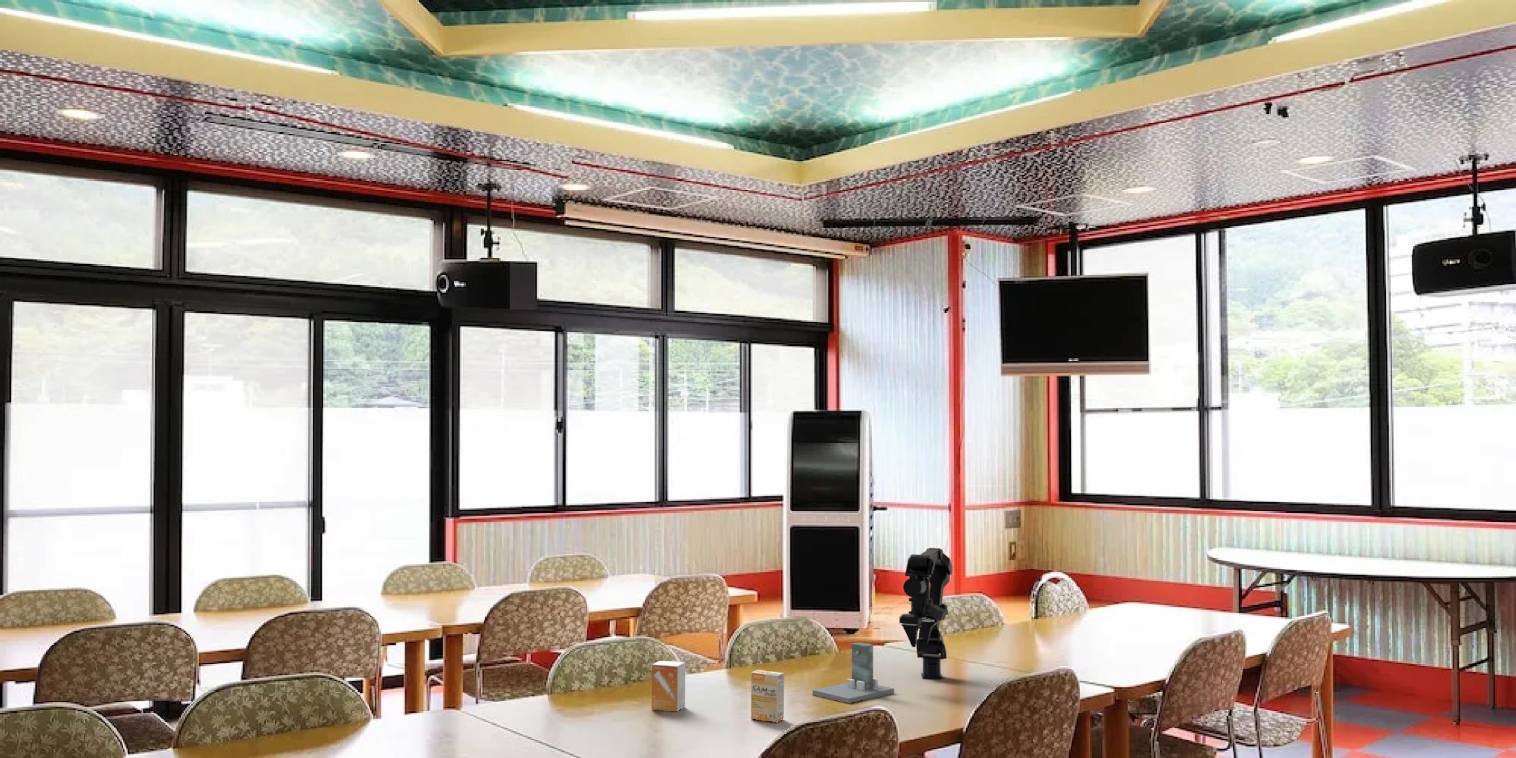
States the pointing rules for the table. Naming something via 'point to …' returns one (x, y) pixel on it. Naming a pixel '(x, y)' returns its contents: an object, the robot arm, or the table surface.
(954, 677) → the table surface
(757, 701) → the supplement box
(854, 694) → the base plate
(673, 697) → the small box
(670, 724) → the table surface
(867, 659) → the tall streaky grey pillar
